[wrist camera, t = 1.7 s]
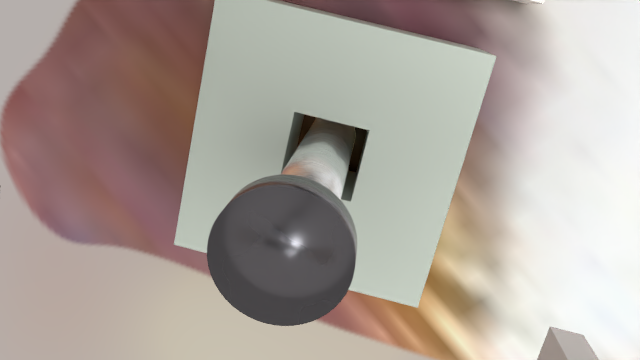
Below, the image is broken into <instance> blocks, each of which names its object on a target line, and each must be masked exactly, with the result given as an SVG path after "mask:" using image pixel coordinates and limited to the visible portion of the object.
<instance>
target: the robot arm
mask: <svg viewBox="0 0 640 360" xmlns="http://www.w3.org/2000/svg"><path fill="white" fill-rule="evenodd" d="M537 360H598V358H597V356H596V355H595V353H594V352H593V350H592V348H591V347H590V345H589V344H588V342H587V340H586V339H585V337H584V336H583V335H581V334H577V333H573V332H569V331H565V330H561V329H557V328H554V327H550V328H549V330H548V333H547V336H546V338H545V341H544V343H543V346H542V348H541V351H540V354H539V356H538V359H537Z"/></svg>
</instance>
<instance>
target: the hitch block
mask: <svg viewBox="0 0 640 360" xmlns="http://www.w3.org/2000/svg"><path fill="white" fill-rule="evenodd" d="M495 59H496V56H495V55H493V54H490V53H488V52H486V51H483V50H481V49H479V48H475V47H471V46H467V45H463V44H458V43H454V42H450V41H446V40H442V39H438V38H434V37H429V36H425V35H421V34H417V33H413V32H409V31H405V30H400V29H396V28H392V27H388V26H384V25H380V24H376V23H371V22H367V21H363V20H359V19H355V18H351V17H347V16H342V15H338V14H334V13H330V12H326V11H322V10H318V9H313V8H309V7H305V6H301V5H297V4H293V3H289V2H284V1H280V0H215V3H214V9H213V15H212V21H211V27H210V33H209V39H208V45H207V51H206V57H205V63H204V69H203V75H202V81H201V87H200V93H199V99H198V105H197V111H196V117H195V122H194V128H193V134H192V140H191V146H190V152H189V158H188V164H187V170H186V176H185V182H184V188H183V194H182V200H181V206H180V212H179V218H178V224H177V230H176V236H175V242H174V245H178V246H181V247H185V248H189V249H193V250H197V251H201V252H205V253H207V244H208V238H209V234H210V231H211V228H212V226H213V224H214V222H215V220H216V219H217V217H218V215H219V214H220V213H221V212H222V210H223V209H224V208H225V207H226V205H227V204H228V203H229V202H230V201H231V199H232V198H233V197H234V196H235V194H237V193H238V192H239V191H240V190H241V189H242V188H244V187H245V186H246V185H248V184H249V183H251V182H253V181H255V180H258V179H261V178H263V177H267V176H272V175H280V174H281V173H282V171H283V170H284V168H285V167H286V165H287V163H288V162H289V160H290V159H291V157H292V156H293V154H294V152H295V151H296V149H297V145H298V141H299V136H300V132H301V127H302V123H303V118H304V114H306V115H310V116H314V117H318V118H322V119H326V120H330V121H334V122H338V123H342V124H346V125H350V126H354V127H358V128H362V129H366V130H367V133H366V137H365V141H364V145H363V149H362V152H361V156H360V160H359V164H358V168H357V172H352V171H347V175H346V179H345V184H344V188H343V192H342V196H341V201H342V202H343V204H344V205H345V206H346V208H347V209H348V211H349V213H350V215H351V217H352V219H353V222H354V225H355V229H356V233H357V255H356V263H355V270H354V275H353V279H352V282H351V285H350V287H349V289H348V290H351V291H355V292H359V293H363V294H367V295H371V296H374V297H378V298H382V299H386V300H390V301H394V302H398V303H402V304H405V305H409V306H413V307H417V308H418V305H419V302H420V298H421V295H422V292H423V289H424V286H425V282H426V279H427V276H428V273H429V270H430V266H431V263H432V260H433V257H434V254H435V251H436V247H437V244H438V241H439V238H440V235H441V231H442V228H443V225H444V222H445V219H446V216H447V212H448V209H449V206H450V203H451V200H452V196H453V193H454V190H455V187H456V184H457V180H458V177H459V174H460V171H461V168H462V165H463V161H464V158H465V155H466V152H467V149H468V145H469V142H470V139H471V136H472V133H473V130H474V126H475V123H476V120H477V117H478V114H479V110H480V107H481V104H482V101H483V98H484V94H485V91H486V88H487V85H488V82H489V79H490V75H491V72H492V69H493V66H494V63H495Z"/></svg>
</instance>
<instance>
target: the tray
mask: <svg viewBox="0 0 640 360" xmlns="http://www.w3.org/2000/svg"><path fill="white" fill-rule="evenodd" d="M510 1H514V2H519V3H523V4H541V3H544V0H510Z"/></svg>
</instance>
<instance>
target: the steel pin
mask: <svg viewBox="0 0 640 360" xmlns="http://www.w3.org/2000/svg"><path fill="white" fill-rule="evenodd" d="M355 135H356V134H355V128H354V126H350V125H346V124H342V123H338V122H334V121H330V120H326V119H322V118H317V119H316V120H315V121H314V123H313V124H312V126H311V127H310V129H309V130H308V132H307V134H306V135H305V137H304V138H303V140H302V141H301V143H300V145H299V146H298V148H297V149H296V151H295V152H294V154H293V156H292V157H291V159H290V160H289V162H288V163H287V165H286V167H285V168H284V170H283V171H282V173H281V174H280V175H272V176H267V177H263V178H261V179H258V180H255V181H253V182H251V183H249V184H248V185H246V186H245V187H244V188H242V189H241V190H240V191H239V192H238V193H237V194H235V196H234V197H233V198H232V199H231V201H230V202H229V203H228V204H227V205H226V207H225V208H224V209H223V210H222V212H221V213H220V214H219V215H218V217H217V219H216V220H215V222H214V224H213V226H212V228H211V231H210V234H209V238H208V244H207V260H208V266H209V270H210V273H211V276H212V278H213V280H214V283H215V284H216V286H217V288H218V290H219V291H220V293H221V294H222V295H223V296H224V298H225V299H226V300H227V301H228V302H229V303H230V304H231V305H232V306H233V307H235V308H236V309H237V310H239V311H240V312H242V313H243V314H245V315H247V316H248V317H251V318H253V319H255V320H257V321H260V322H263V323H267V324H272V325H280V326H293V325H300V324H304V323H308V322H311V321H314V320H316V319H318V318H320V317H322V316H324V315H326V314H327V313H329V312H330V311H331V310H332V309H334V308H335V307H336V306H337V305H338V304H339V303H340V302H341V300H342V299H343V297H344V296H345V295H346V293H347V291H348V289H349V287H350V285H351V282H352V279H353V275H354V270H355V263H356V255H357V233H356V229H355V225H354V222H353V219H352V217H351V215H350V213H349V211H348V209H347V208H346V206H345V205H344V204H343V202H342V201H341V196H342V192H343V188H344V184H345V179H346V175H347V171H348V167H349V163H350V158H351V154H352V150H353V146H354V142H355Z"/></svg>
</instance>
